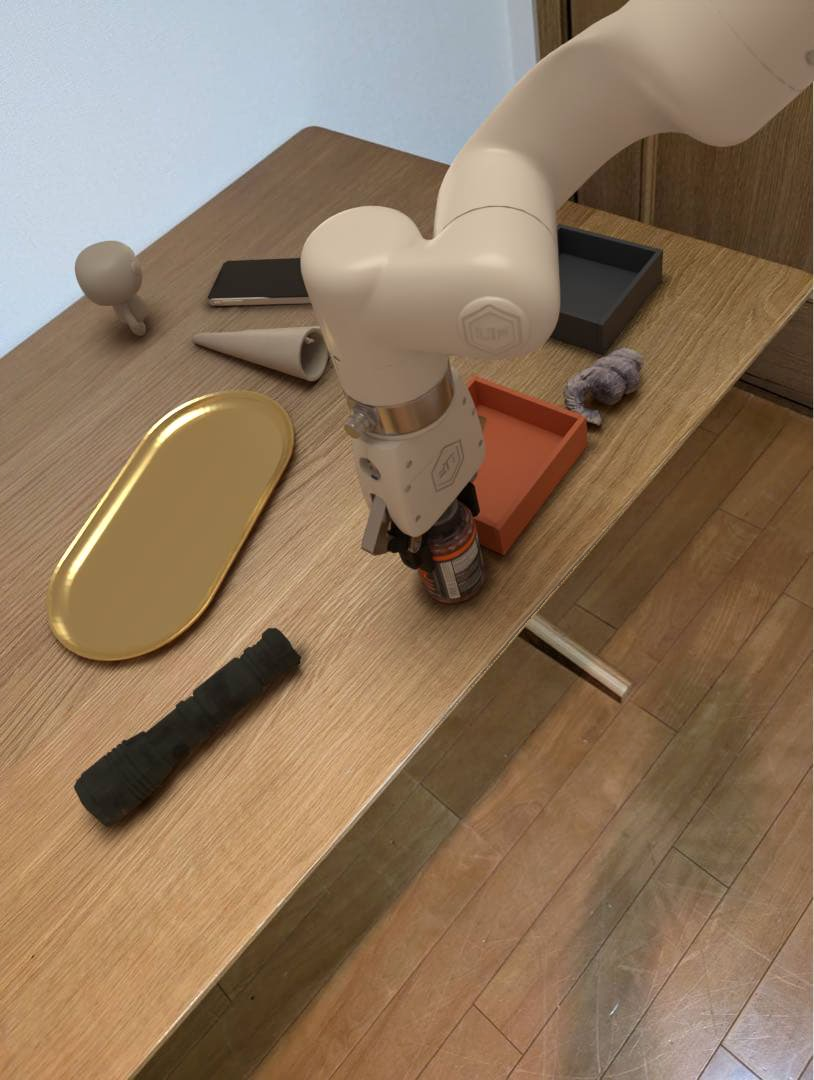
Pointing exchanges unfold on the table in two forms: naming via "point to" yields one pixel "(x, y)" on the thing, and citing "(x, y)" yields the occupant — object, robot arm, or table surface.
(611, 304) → the slate bin
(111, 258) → the figurine
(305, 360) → the long tapered cone
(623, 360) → the grey curved ribbed piece
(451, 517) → the supplement bottle
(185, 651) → the table surface
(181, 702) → the flashlight
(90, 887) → the table surface
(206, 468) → the serving platter
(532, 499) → the terracotta bin
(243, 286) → the smartphone
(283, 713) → the table surface
